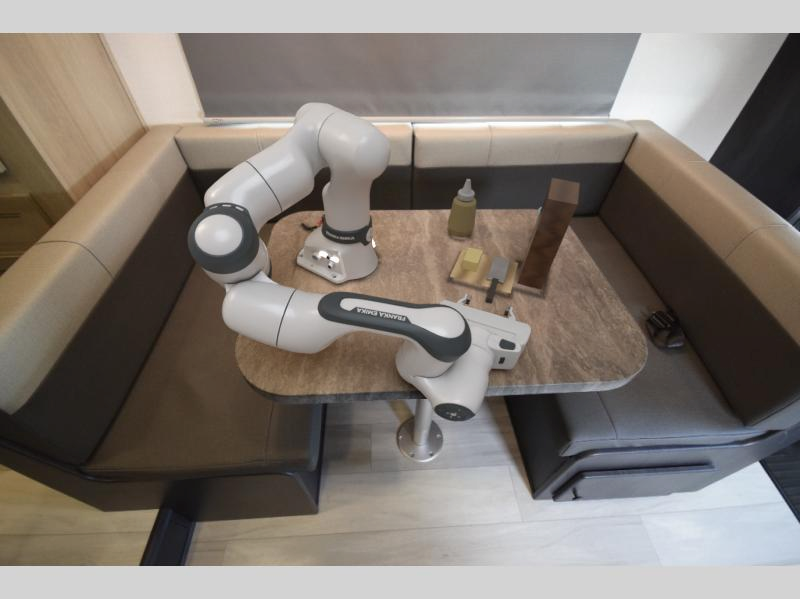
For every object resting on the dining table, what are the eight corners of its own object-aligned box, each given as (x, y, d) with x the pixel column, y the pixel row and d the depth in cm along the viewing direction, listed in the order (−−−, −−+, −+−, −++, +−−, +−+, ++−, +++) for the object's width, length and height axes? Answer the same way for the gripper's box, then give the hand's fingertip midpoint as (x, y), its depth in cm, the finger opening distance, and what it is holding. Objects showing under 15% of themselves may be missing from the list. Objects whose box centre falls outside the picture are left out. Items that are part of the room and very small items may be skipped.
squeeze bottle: (471, 244, 105) (483, 188, 92) (444, 240, 106) (452, 185, 93) (473, 229, 110) (484, 174, 98) (447, 225, 111) (455, 171, 99)
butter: (461, 268, 95) (463, 259, 93) (466, 255, 99) (468, 247, 97) (475, 272, 94) (477, 263, 92) (480, 259, 98) (482, 250, 96)
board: (448, 280, 93) (449, 276, 92) (461, 252, 102) (462, 248, 101) (509, 297, 90) (510, 293, 88) (517, 267, 98) (518, 262, 97)
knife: (479, 300, 87) (480, 296, 85) (493, 257, 98) (494, 253, 97) (497, 305, 85) (498, 301, 84) (509, 262, 97) (511, 257, 96)
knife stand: (511, 288, 92) (542, 199, 73) (518, 261, 100) (548, 174, 81) (542, 297, 90) (582, 207, 71) (547, 269, 98) (584, 181, 79)
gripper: (425, 340, 76) (443, 298, 85) (520, 371, 71) (529, 324, 80) (427, 321, 72) (446, 279, 81) (528, 353, 67) (537, 305, 76)
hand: (488, 302), depth 81 cm, fingers open, 8 cm apart
